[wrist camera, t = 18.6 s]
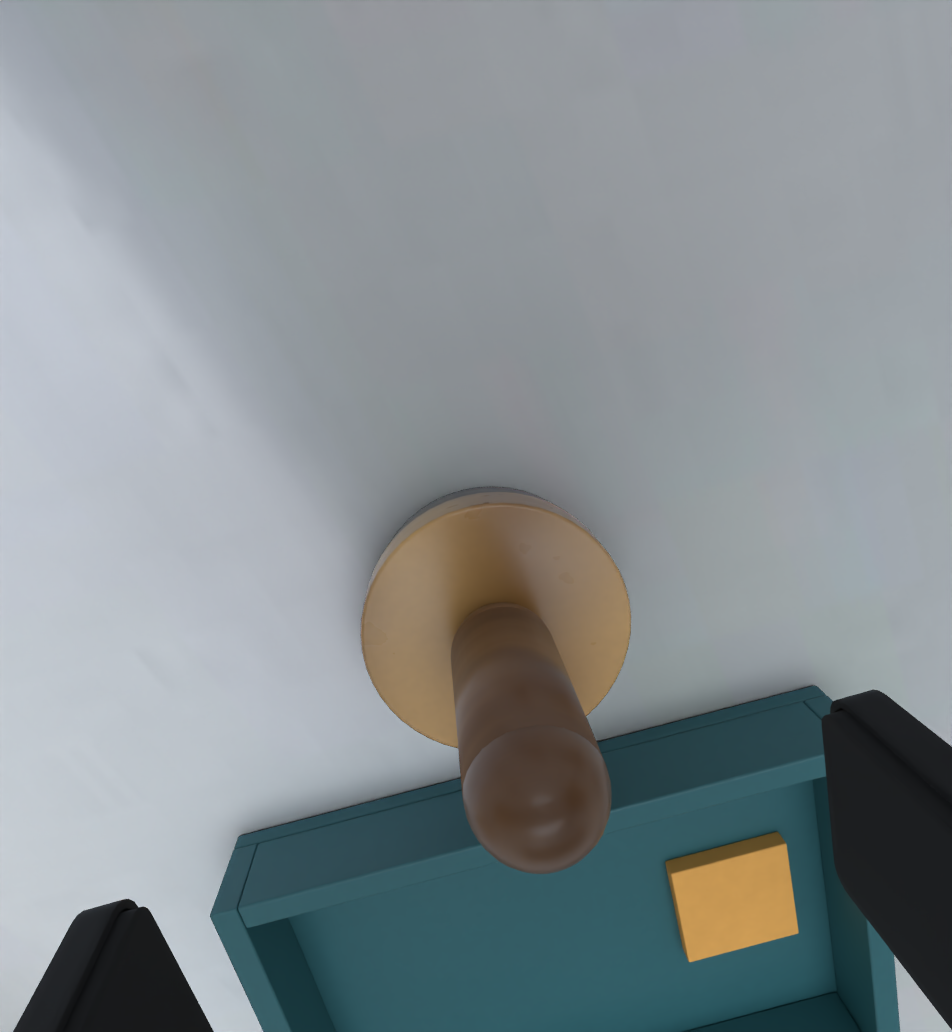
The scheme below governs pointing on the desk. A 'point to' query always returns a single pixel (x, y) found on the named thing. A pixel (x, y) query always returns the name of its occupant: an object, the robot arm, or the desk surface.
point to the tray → (561, 904)
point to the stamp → (504, 662)
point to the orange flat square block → (733, 896)
